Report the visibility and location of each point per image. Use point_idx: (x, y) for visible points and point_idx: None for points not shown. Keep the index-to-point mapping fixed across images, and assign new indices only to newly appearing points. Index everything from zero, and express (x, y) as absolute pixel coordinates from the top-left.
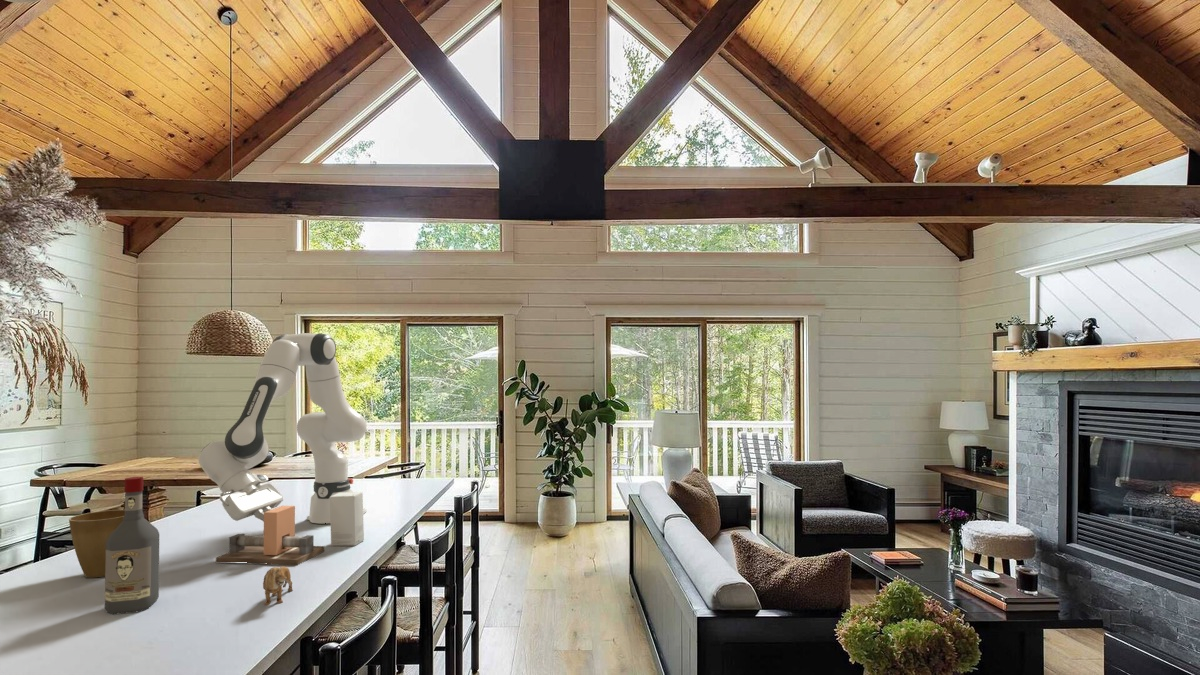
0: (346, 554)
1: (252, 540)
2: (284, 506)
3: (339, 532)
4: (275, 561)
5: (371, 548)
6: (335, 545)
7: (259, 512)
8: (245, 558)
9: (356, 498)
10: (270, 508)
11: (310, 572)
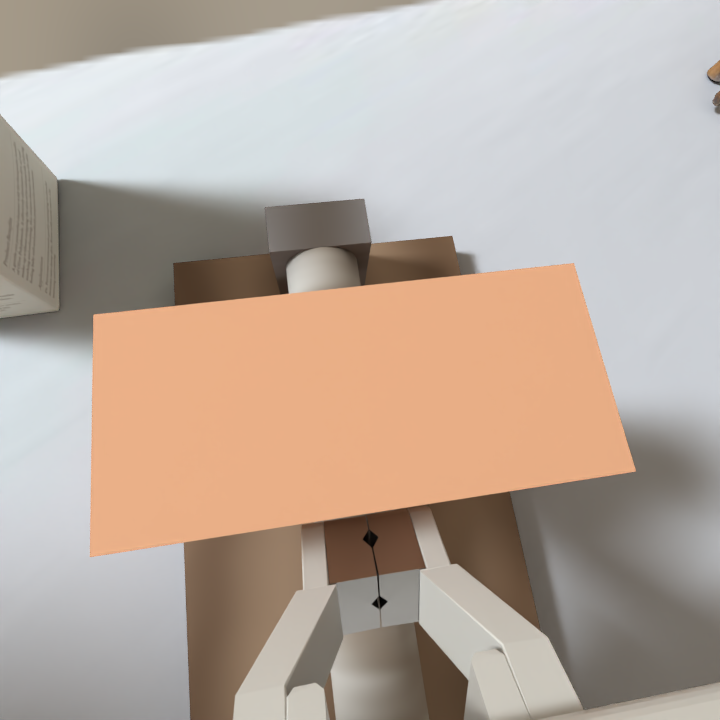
0: (221, 139)
1: (419, 671)
2: (161, 459)
3: (10, 210)
4: None
5: (98, 84)
6: (58, 284)
7: (554, 657)
8: (525, 565)
9: None
10: (251, 703)
11: (512, 134)
